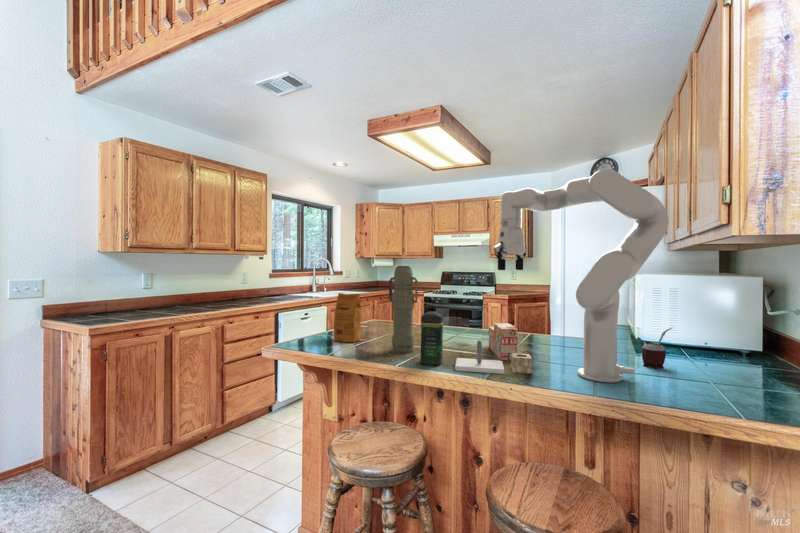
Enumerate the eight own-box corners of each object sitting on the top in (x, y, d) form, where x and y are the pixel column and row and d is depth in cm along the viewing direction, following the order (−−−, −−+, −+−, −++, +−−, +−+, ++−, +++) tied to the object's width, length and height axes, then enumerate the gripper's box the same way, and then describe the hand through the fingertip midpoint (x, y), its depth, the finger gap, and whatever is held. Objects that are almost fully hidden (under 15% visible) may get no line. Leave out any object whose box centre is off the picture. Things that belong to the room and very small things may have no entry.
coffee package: (340, 337, 178) (341, 291, 178) (364, 339, 174) (364, 292, 174) (329, 341, 169) (330, 293, 169) (354, 343, 164) (354, 294, 164)
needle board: (502, 364, 133) (502, 338, 132) (504, 373, 122) (504, 345, 122) (457, 361, 136) (457, 336, 136) (455, 370, 125) (455, 342, 125)
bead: (529, 368, 128) (529, 354, 128) (531, 373, 122) (531, 358, 122) (511, 367, 129) (511, 353, 129) (512, 372, 124) (513, 357, 124)
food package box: (488, 347, 160) (488, 319, 160) (503, 347, 160) (503, 319, 159) (500, 360, 138) (500, 328, 138) (517, 361, 138) (517, 328, 138)
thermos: (389, 347, 158) (390, 265, 157) (417, 348, 156) (418, 266, 156) (386, 352, 149) (387, 265, 148) (416, 353, 148) (417, 266, 147)
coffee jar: (440, 366, 129) (441, 314, 129) (418, 365, 131) (419, 313, 131) (444, 359, 139) (444, 310, 138) (423, 358, 141) (423, 309, 140)
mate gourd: (638, 363, 136) (639, 322, 136) (664, 365, 133) (664, 324, 133) (645, 369, 129) (646, 326, 129) (672, 371, 126) (673, 327, 126)
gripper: (502, 222, 132) (502, 270, 132) (534, 225, 141) (533, 270, 141) (487, 224, 139) (486, 269, 139) (518, 226, 148) (518, 269, 148)
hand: (510, 269), depth 140 cm, fingers open, 9 cm apart
